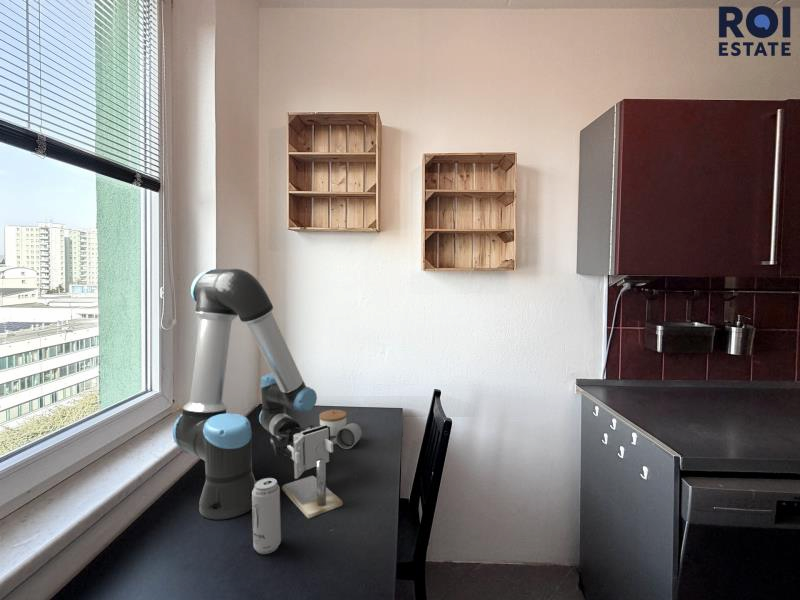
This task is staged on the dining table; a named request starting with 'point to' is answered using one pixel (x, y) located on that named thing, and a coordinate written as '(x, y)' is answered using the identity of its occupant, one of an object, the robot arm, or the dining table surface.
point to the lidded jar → (333, 420)
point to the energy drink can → (266, 516)
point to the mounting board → (312, 507)
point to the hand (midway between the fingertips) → (315, 452)
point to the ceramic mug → (348, 436)
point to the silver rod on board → (311, 486)
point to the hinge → (310, 448)
